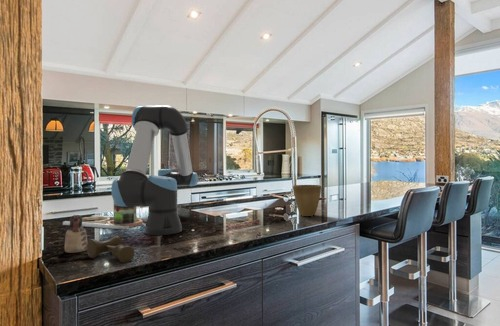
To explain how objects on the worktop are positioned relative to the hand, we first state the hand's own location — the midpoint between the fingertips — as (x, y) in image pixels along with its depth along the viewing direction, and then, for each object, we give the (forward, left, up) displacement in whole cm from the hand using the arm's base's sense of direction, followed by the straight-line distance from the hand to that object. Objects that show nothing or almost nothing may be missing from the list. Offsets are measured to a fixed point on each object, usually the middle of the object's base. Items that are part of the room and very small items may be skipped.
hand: (128, 204), depth 164 cm
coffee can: (0, +3, -9) cm, 10 cm away
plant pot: (-77, -46, -9) cm, 90 cm away
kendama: (-31, +48, -9) cm, 58 cm away
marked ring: (0, +3, -9) cm, 10 cm away
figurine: (-14, +45, -9) cm, 48 cm away
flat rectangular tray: (+9, +3, -9) cm, 13 cm away
